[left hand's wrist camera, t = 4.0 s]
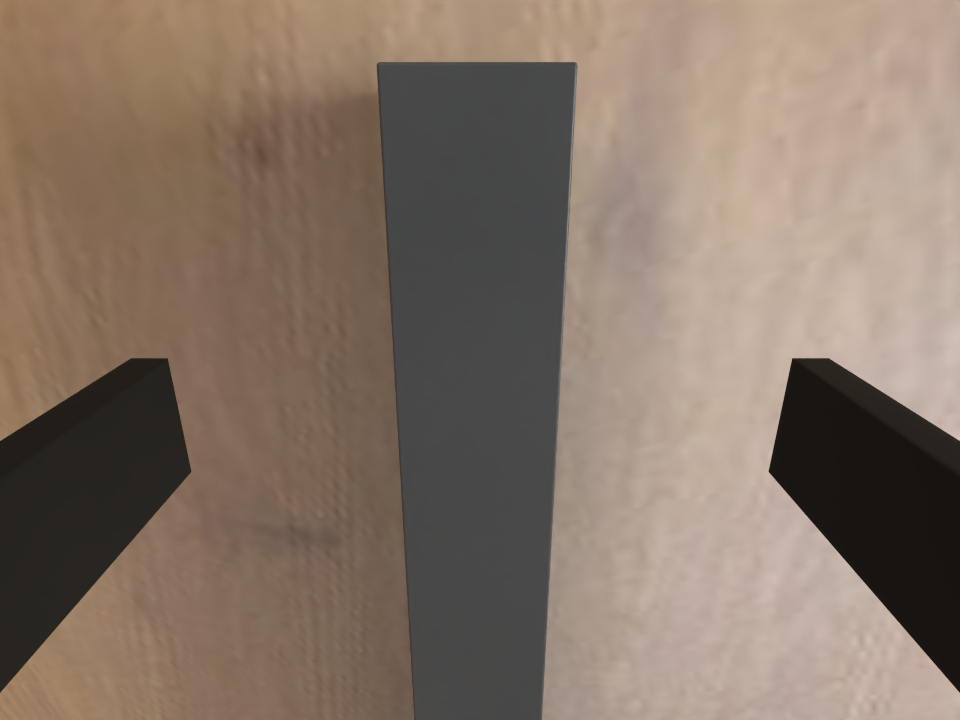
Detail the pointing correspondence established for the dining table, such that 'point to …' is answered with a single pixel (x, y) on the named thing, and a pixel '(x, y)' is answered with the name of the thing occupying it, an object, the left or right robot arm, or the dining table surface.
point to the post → (477, 366)
